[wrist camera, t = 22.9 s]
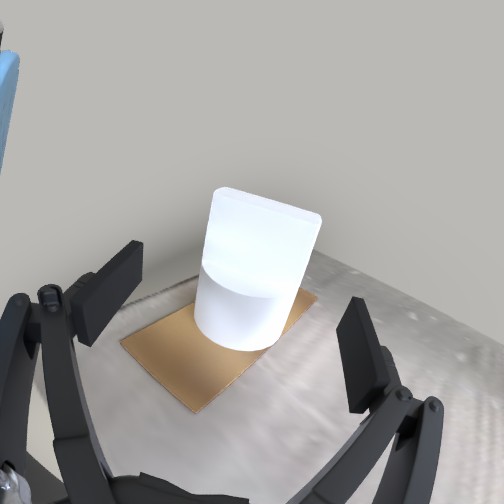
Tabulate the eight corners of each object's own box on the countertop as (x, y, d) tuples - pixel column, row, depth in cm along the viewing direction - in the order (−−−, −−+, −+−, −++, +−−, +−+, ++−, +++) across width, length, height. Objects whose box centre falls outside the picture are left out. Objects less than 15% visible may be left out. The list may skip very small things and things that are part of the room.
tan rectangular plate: (195, 414, 17) (195, 412, 17) (119, 343, 21) (119, 341, 21) (317, 299, 35) (318, 297, 35) (259, 267, 39) (259, 266, 39)
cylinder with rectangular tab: (178, 328, 24) (193, 201, 19) (213, 282, 33) (233, 180, 27) (272, 363, 23) (321, 239, 18) (288, 308, 31) (322, 207, 26)
